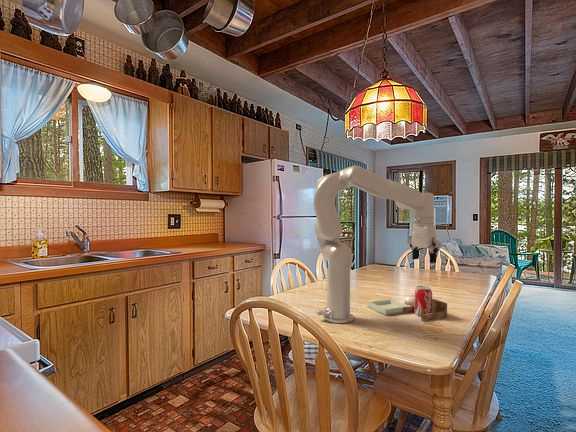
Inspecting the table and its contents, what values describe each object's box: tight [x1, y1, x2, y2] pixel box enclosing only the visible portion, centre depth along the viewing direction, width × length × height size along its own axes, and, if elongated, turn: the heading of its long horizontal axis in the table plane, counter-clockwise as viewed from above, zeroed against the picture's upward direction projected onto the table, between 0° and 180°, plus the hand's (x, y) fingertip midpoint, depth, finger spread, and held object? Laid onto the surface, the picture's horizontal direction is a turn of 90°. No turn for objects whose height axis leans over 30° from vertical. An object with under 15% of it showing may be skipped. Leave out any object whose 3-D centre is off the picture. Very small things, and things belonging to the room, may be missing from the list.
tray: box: [366, 298, 410, 317], centre depth 149 cm, size 13×13×3 cm
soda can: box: [414, 285, 433, 318], centre depth 142 cm, size 7×7×12 cm
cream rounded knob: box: [404, 294, 415, 306], centre depth 159 cm, size 7×7×4 cm
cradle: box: [402, 298, 448, 322], centre depth 142 cm, size 13×12×6 cm
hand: (423, 260), depth 143 cm, fingers open, 9 cm apart
